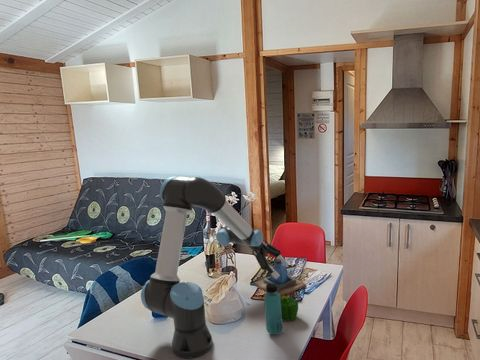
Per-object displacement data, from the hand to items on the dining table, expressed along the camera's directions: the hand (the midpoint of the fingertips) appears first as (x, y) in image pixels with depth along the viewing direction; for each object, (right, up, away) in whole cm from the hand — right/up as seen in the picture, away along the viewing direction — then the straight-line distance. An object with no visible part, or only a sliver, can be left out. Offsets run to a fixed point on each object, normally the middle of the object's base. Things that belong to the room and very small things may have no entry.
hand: (282, 271), depth 179 cm
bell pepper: (-1, -13, -26) cm, 29 cm away
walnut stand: (-1, -8, +2) cm, 8 cm away
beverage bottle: (-7, -15, -36) cm, 40 cm away
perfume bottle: (-1, -6, +2) cm, 7 cm away
